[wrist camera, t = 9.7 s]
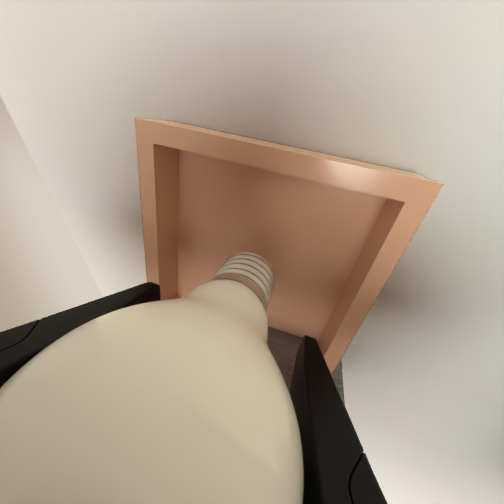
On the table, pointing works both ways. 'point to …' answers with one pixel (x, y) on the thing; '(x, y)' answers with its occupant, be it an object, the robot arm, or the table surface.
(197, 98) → the table surface
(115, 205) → the table surface
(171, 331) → the lightbulb
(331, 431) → the robot arm
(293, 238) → the dish
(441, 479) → the table surface
